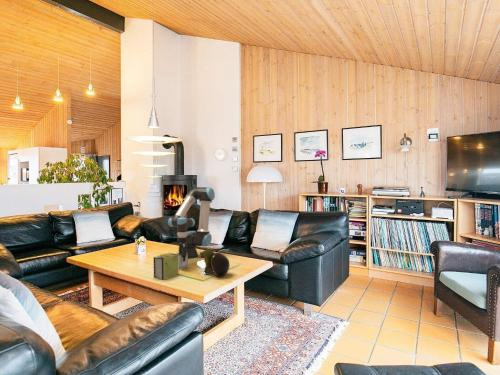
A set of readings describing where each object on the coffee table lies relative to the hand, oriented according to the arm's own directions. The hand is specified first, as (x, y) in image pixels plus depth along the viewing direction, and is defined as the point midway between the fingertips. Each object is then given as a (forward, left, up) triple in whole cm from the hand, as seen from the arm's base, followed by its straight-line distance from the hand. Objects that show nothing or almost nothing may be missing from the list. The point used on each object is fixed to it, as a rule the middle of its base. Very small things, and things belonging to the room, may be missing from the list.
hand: (182, 263), depth 250 cm
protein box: (+15, +15, -5) cm, 22 cm away
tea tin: (0, 0, -4) cm, 4 cm away
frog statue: (-19, +26, -4) cm, 32 cm away
